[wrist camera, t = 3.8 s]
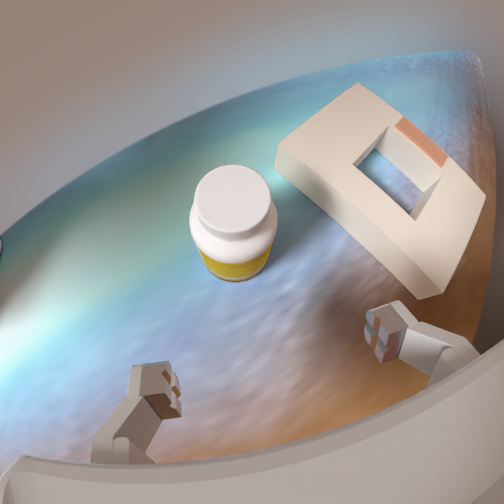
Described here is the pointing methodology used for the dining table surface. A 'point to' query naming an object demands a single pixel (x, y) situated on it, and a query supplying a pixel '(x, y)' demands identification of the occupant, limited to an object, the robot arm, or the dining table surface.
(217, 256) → the supplement bottle
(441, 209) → the socket block
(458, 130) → the dining table surface
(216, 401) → the dining table surface
